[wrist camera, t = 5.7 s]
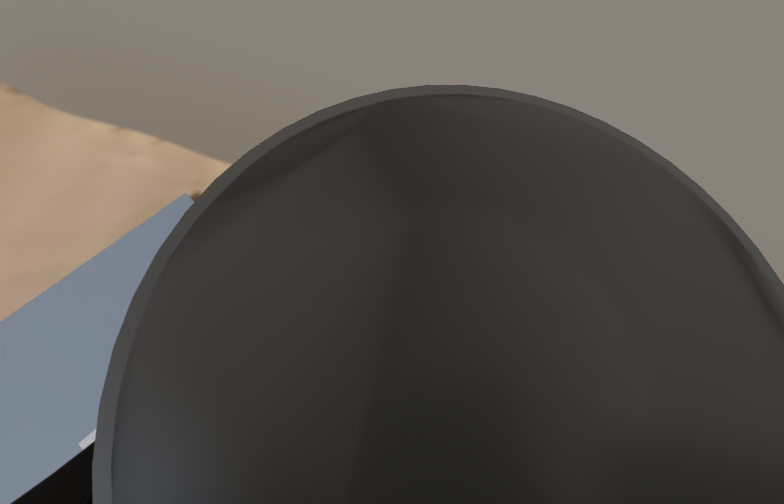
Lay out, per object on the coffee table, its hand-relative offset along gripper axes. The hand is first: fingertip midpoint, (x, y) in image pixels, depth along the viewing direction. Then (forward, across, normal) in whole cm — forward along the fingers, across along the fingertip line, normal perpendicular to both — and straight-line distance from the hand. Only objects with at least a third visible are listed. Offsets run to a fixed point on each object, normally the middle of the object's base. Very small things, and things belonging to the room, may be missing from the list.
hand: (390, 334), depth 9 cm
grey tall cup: (+4, 0, +6) cm, 7 cm away
